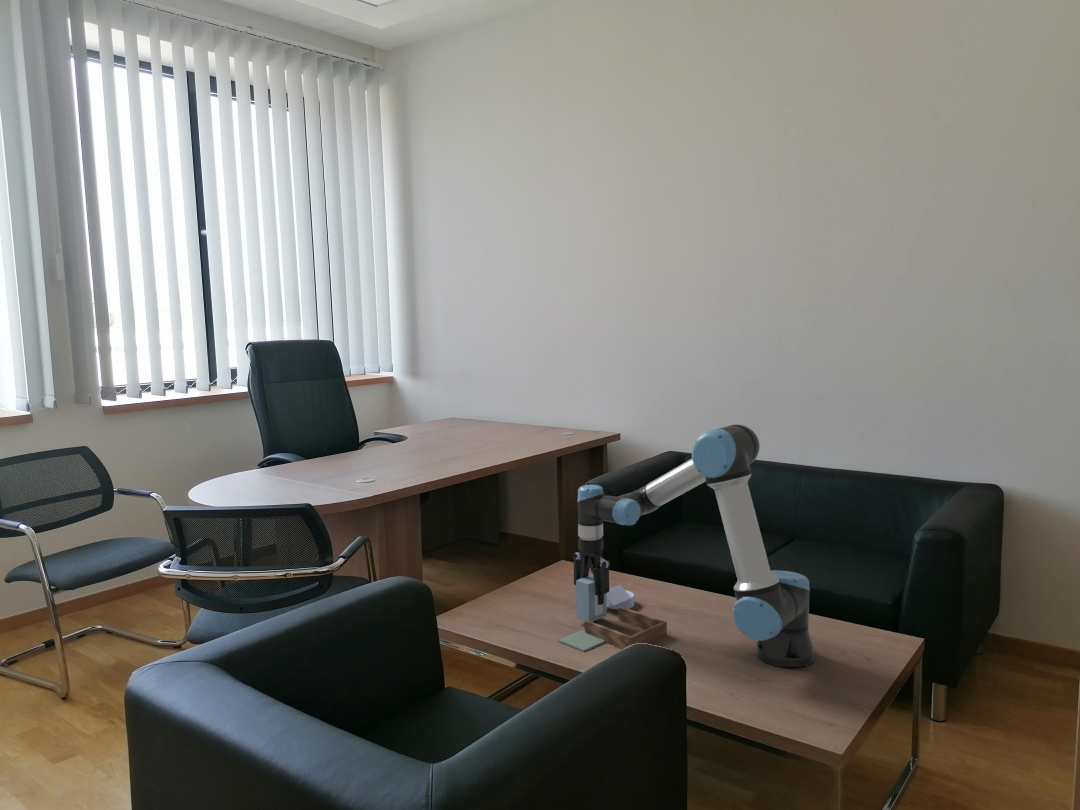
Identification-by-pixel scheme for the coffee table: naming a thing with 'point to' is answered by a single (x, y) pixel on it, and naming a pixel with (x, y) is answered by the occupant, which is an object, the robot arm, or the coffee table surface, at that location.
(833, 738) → the coffee table surface
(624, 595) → the wedge on round base
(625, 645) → the shelf bay
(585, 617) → the block
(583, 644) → the felt pad
